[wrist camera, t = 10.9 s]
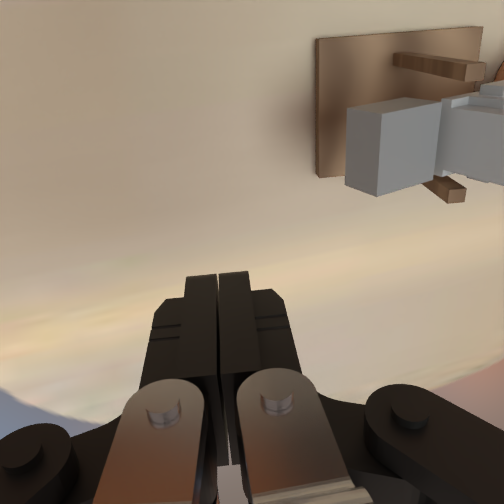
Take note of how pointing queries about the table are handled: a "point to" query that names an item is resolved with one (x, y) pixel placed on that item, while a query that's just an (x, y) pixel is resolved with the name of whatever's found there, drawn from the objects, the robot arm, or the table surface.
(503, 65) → the terracotta shallow bowl
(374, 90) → the catapult stand
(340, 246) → the table surface
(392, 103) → the grey angular piece
